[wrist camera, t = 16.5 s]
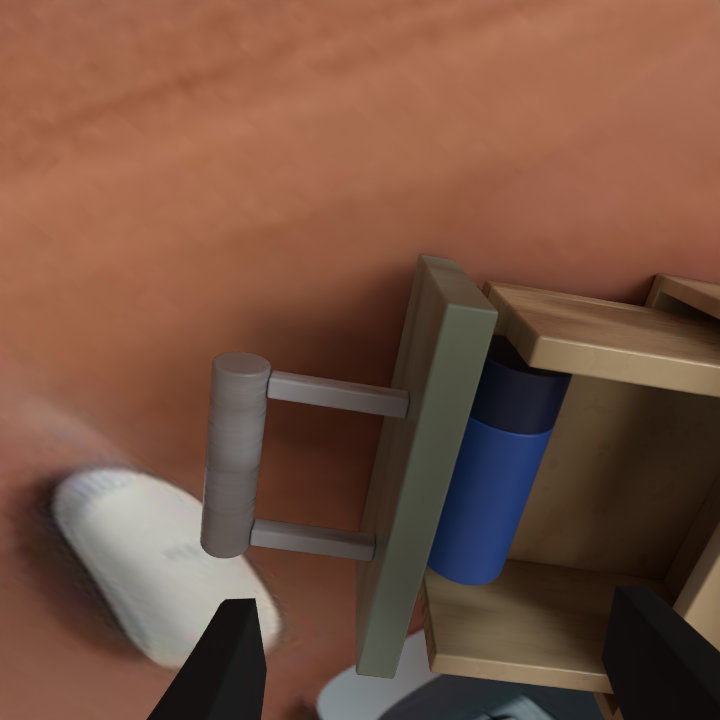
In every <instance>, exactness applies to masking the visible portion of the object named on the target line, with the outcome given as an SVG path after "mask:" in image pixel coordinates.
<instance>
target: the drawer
mask: <svg viewBox="0 0 720 720" xmlns="http://www.w3.org/2000/svg"><path fill="white" fill-rule="evenodd" d="M492 335H500V336H506V337H507V339H508V340H509V341H510V343H511V344H512V345H513V346H514V348H515V349H516V350H517V352H518V353H519V354H520V356H521V357H522V358H523V359H524V361H525V362H526V363H527V365H528V366H530V367H533V368H539V369H546V370H552V371H558V372H564V373H570V374H573V376H572V379H571V381H570V384H569V387H568V390H567V392H566V395H565V398H564V401H563V403H562V406H561V409H560V412H559V414H558V417H557V420H556V423H555V425H554V428H553V431H552V434H551V436H550V439H549V442H548V445H547V447H546V450H545V453H544V456H543V459H542V461H541V464H540V467H539V470H538V472H537V475H536V478H535V481H534V483H533V486H532V489H531V492H530V494H529V497H528V500H527V503H526V505H525V508H524V511H523V514H522V516H521V519H520V522H519V525H518V527H517V530H516V533H515V536H514V539H513V541H512V544H511V547H510V550H509V552H508V555H507V558H506V561H505V563H504V566H503V569H502V571H501V573H500V575H499V576H498V577H497V578H496V579H495V580H493V581H492V582H489V583H487V584H483V585H464V584H460V583H456V582H453V581H451V580H448V579H446V578H444V577H442V576H441V575H439V574H437V573H436V572H435V571H433V570H432V569H431V568H430V567H429V566H428V565H427V561H428V558H429V554H430V551H431V547H432V544H433V540H434V537H435V533H436V530H437V526H438V523H439V519H440V516H441V512H442V509H443V505H444V502H445V498H446V495H447V491H448V488H449V485H450V481H451V478H452V474H453V471H454V467H455V464H456V460H457V457H458V453H459V450H460V446H461V443H462V439H463V436H464V432H465V429H466V425H467V422H468V418H469V415H470V411H471V408H472V404H473V401H474V397H475V394H476V390H477V387H478V383H479V380H480V376H481V373H482V369H483V366H484V363H485V359H486V356H487V352H488V349H489V345H490V342H491V338H492ZM270 373H271V375H270ZM268 398H272V399H279V400H285V401H292V402H299V403H305V404H312V405H318V406H325V407H332V408H338V409H345V410H351V411H358V412H365V413H371V414H378V415H384V420H383V425H382V429H381V434H380V439H379V443H378V448H377V452H376V457H375V462H374V466H373V471H372V476H371V480H370V485H369V489H368V494H367V499H366V503H365V508H364V513H363V517H362V522H361V527H360V531H359V532H353V531H346V530H339V529H331V528H324V527H316V526H309V525H302V524H294V523H287V522H280V521H272V520H265V519H258V518H257V519H255V520H254V523H253V519H254V511H255V502H256V494H257V485H258V476H259V468H260V459H261V451H262V442H263V433H264V425H265V416H266V408H267V399H268ZM719 521H720V320H717V319H711V318H705V317H699V316H693V315H688V314H682V313H676V312H670V311H664V310H659V309H653V308H647V307H641V306H635V305H630V304H624V303H618V302H612V301H606V300H600V299H595V298H589V297H583V296H577V295H571V294H566V293H560V292H554V291H548V290H542V289H537V288H531V287H525V286H519V285H513V284H507V283H502V282H496V281H490V280H487V281H485V283H484V287H483V290H482V292H481V291H480V290H479V289H478V287H477V286H476V285H475V284H474V283H473V281H472V280H471V279H470V278H469V277H468V276H467V274H466V273H465V272H464V271H463V270H462V268H461V267H460V266H459V265H458V264H457V263H456V261H454V260H449V259H443V258H438V257H432V256H426V255H420V256H419V258H418V262H417V267H416V272H415V276H414V281H413V286H412V290H411V295H410V300H409V304H408V309H407V313H406V318H405V323H404V327H403V332H402V337H401V341H400V346H399V350H398V355H397V360H396V364H395V369H394V374H393V378H392V383H391V388H384V387H378V386H371V385H365V384H359V383H352V382H346V381H339V380H333V379H326V378H320V377H314V376H307V375H301V374H294V373H288V372H281V371H275V370H274V371H272V372H271V365H270V363H269V361H268V360H267V359H265V358H263V357H261V356H259V355H256V354H252V353H246V352H228V353H223V354H220V355H218V356H217V357H215V359H214V360H213V363H212V377H211V392H210V406H209V421H208V435H207V450H206V464H205V479H204V494H203V508H202V523H201V537H200V543H201V546H202V548H203V549H204V551H205V552H206V553H208V554H209V555H211V556H213V557H217V558H232V557H236V556H238V555H240V554H242V553H243V552H245V551H246V550H247V548H248V547H249V545H252V546H259V547H266V548H274V549H282V550H289V551H297V552H304V553H312V554H319V555H327V556H334V557H342V558H350V559H356V673H357V674H358V675H365V676H374V677H382V678H394V676H395V673H396V669H397V666H398V662H399V659H400V655H401V652H402V648H403V645H404V641H405V638H406V634H407V631H408V627H409V624H410V620H411V617H412V613H413V610H414V607H415V603H416V600H417V596H418V593H419V595H420V602H421V609H422V617H423V624H424V632H425V639H426V646H427V653H428V661H429V668H430V671H431V672H433V673H441V674H449V675H458V676H466V677H475V678H483V679H492V680H500V681H509V682H517V683H525V684H534V685H542V686H551V687H559V688H568V689H576V690H584V691H593V692H601V693H610V694H614V693H613V690H612V688H611V685H610V682H609V679H608V676H607V673H606V670H605V667H604V665H603V662H602V659H601V658H602V653H603V648H604V643H605V637H606V632H607V627H608V622H609V617H610V612H611V606H612V601H613V596H614V591H615V586H632V585H647V586H648V587H649V588H650V589H651V590H653V591H654V592H655V593H656V594H657V595H658V596H659V597H660V598H661V599H663V600H664V601H665V602H666V603H667V604H668V605H669V606H670V607H671V608H673V606H674V604H675V602H676V600H677V598H678V597H679V595H680V593H681V591H682V589H683V587H684V586H685V584H686V582H687V580H688V578H689V576H690V575H691V573H692V571H693V569H694V567H695V565H696V564H697V562H698V560H699V558H700V556H701V554H702V553H703V551H704V549H705V547H706V545H707V543H708V542H709V540H710V538H711V536H712V534H713V532H714V531H715V529H716V527H717V525H718V523H719Z"/></svg>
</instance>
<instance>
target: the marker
mask: <svg viewBox="0 0 720 720" xmlns="http://www.w3.org/2000/svg"><path fill="white" fill-rule="evenodd" d="M572 376H573V374H570V373H564V372H558V371H552V370H546V369H539V368H533V367H530V366H528V365H527V363H526V362H525V361H524V359H523V358H522V357H521V356H520V354H519V353H518V352H517V350H516V349H515V348H514V346H513V345H512V344H511V343H510V341H509V340H508V339H507V337H506V336H500V335H492V338H491V342H490V345H489V349H488V352H487V356H486V359H485V363H484V366H483V369H482V373H481V376H480V380H479V383H478V387H477V390H476V394H475V397H474V401H473V404H472V408H471V411H470V415H469V418H468V422H467V425H466V429H465V432H464V436H463V439H462V443H461V446H460V450H459V453H458V457H457V460H456V464H455V467H454V471H453V474H452V478H451V481H450V485H449V488H448V491H447V495H446V498H445V502H444V505H443V509H442V512H441V516H440V519H439V523H438V526H437V530H436V533H435V537H434V540H433V544H432V547H431V551H430V554H429V558H428V561H427V565H428V566H429V567H430V568H431V569H432V570H433V571H435V572H436V573H437V574H439V575H441V576H442V577H444V578H446V579H448V580H451V581H453V582H456V583H460V584H464V585H483V584H487V583H489V582H492V581H493V580H495V579H496V578H497V577H498V576H499V575H500V573H501V571H502V569H503V566H504V563H505V561H506V558H507V555H508V552H509V550H510V547H511V544H512V541H513V539H514V536H515V533H516V530H517V527H518V525H519V522H520V519H521V516H522V514H523V511H524V508H525V505H526V503H527V500H528V497H529V494H530V492H531V489H532V486H533V483H534V481H535V478H536V475H537V472H538V470H539V467H540V464H541V461H542V459H543V456H544V453H545V450H546V447H547V445H548V442H549V439H550V436H551V434H552V431H553V428H554V425H555V423H556V420H557V417H558V414H559V412H560V409H561V406H562V403H563V401H564V398H565V395H566V392H567V390H568V387H569V384H570V381H571V379H572Z"/></svg>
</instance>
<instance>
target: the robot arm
mask: <svg viewBox="0 0 720 720" xmlns="http://www.w3.org/2000/svg"><path fill="white" fill-rule="evenodd" d="M601 659H602V662H603V665H604V667H605V670H606V673H607V676H608V679H609V682H610V685H611V688H612V690H613V693H614V696H615V698H616V701H617V704H618V706H619V709H620V712H621V714H622V717H623V719H624V720H720V651H719V650H717V649H716V648H715V647H714V646H713V645H712V644H711V643H710V642H709V641H707V640H706V639H705V638H704V637H703V636H702V635H701V634H700V633H699V632H698V631H696V630H695V629H694V628H693V627H692V626H691V625H690V624H689V623H688V622H687V621H685V620H684V619H683V618H682V617H681V616H680V615H679V614H678V613H677V612H676V611H675V610H673V609H672V608H671V607H670V606H669V605H668V604H667V603H666V602H665V601H664V600H663V599H661V598H660V597H659V596H658V595H657V594H656V593H655V592H654V591H653V590H651V589H650V588H649V587H648V586H647V585H632V586H615V591H614V596H613V601H612V606H611V612H610V617H609V622H608V627H607V632H606V637H605V643H604V648H603V653H602V658H601ZM266 672H267V668H266V662H265V655H264V649H263V643H262V637H261V631H260V624H259V618H258V612H257V606H256V600H255V598H251V599H225V600H224V601H223V602H222V603H221V604H220V606H219V607H218V609H217V611H216V613H215V614H214V616H213V618H212V620H211V621H210V623H209V625H208V626H207V628H206V630H205V631H204V633H203V635H202V636H201V638H200V640H199V641H198V643H197V644H196V646H195V648H194V649H193V651H192V652H191V654H190V656H189V657H188V659H187V660H186V662H185V663H184V665H183V667H182V668H181V670H180V671H179V673H178V674H177V676H176V677H175V679H174V680H173V682H172V683H171V685H170V686H169V688H168V689H167V691H166V692H165V694H164V695H163V696H162V698H161V699H160V701H159V702H158V704H157V705H156V707H155V708H154V710H153V711H152V713H151V714H150V715H149V717H148V718H147V720H261V714H262V706H263V698H264V689H265V680H266ZM503 720H517V719H515V718H506V719H503Z"/></svg>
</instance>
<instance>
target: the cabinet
mask: <svg viewBox="0 0 720 720" xmlns="http://www.w3.org/2000/svg"><path fill="white" fill-rule="evenodd" d="M644 307H647V308H653V309H659V310H664V311H670V312H676V313H682V314H688V315H693V316H699V317H705V318H711V319H717V320H720V284H716V283H710V282H705V281H699V280H693V279H688V278H682V277H676V276H671V275H665V274H657V275H656V278H655V280H654V283H653V285H652V288H651V290H650V293H649V295H648V298H647V300H646V303H645V305H644ZM672 609H673V610H675V611H676V612H677V613H678V614H679V615H680V616H681V617H682V618H683V619H684V620H685V621H687V622H688V623H689V624H690V625H691V626H692V627H693V628H694V629H695V630H696V631H698V632H699V633H700V634H701V635H702V636H703V637H704V638H705V639H706V640H707V641H709V642H710V643H711V644H712V645H713V646H714V647H715V648H716V649H717V650H719V651H720V521H719V523H718V525H717V527H716V529H715V531H714V532H713V534H712V536H711V538H710V540H709V542H708V543H707V545H706V547H705V549H704V551H703V553H702V554H701V556H700V558H699V560H698V562H697V564H696V565H695V567H694V569H693V571H692V573H691V575H690V576H689V578H688V580H687V582H686V584H685V586H684V587H683V589H682V591H681V593H680V595H679V597H678V598H677V600H676V602H675V604H674V606H673V608H672ZM593 693H594V696H595V698H596V700H597V703H598V705H599V707H600V710H601V712H602V714H603V717H604V719H605V720H624V719H623V717H622V714H621V712H620V709H619V706H618V704H617V701H616V698H615V696H614V694H610V693H601V692H593Z"/></svg>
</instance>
